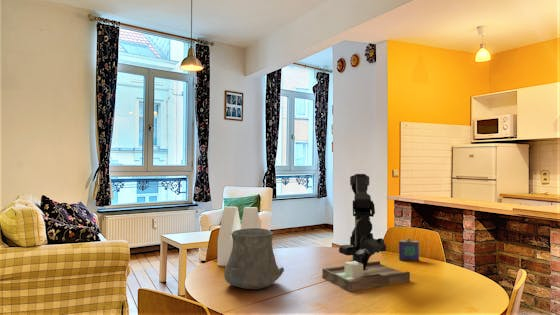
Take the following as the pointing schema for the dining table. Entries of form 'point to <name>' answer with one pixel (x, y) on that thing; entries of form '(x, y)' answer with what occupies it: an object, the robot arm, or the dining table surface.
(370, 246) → the robot arm
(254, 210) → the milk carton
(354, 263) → the block
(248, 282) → the vessel
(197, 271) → the dining table surface
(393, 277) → the box
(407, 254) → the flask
